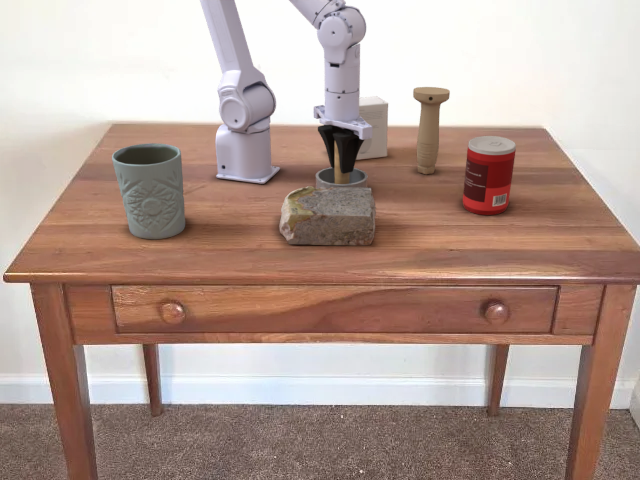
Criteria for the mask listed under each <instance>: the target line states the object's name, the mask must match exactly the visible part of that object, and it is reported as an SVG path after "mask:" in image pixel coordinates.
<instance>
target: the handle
mask: <svg viewBox="0 0 640 480" xmlns="http://www.w3.org/2000/svg"><path fill="white" fill-rule="evenodd" d="M450 94H451V91H450V90H449V89H448V88H444V87H439V86H438V87H437V86H418V87H414V88H413V91H412V97H413V99H414V100H416V101H417V102H418V103H420V116H419V123H418V131H417V140H416V141H417V142H416V161H417V172H418V173H419V174H423V175H428V174H429V175H430V174H431V175H432V174H434V173H435V170H436V164H437V161H438V155H439V147H440V113H441V112H440V109H441V104H443V103H445V102H447V101H448V100H450Z"/></svg>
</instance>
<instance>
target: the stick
mask: <svg viewBox="0 0 640 480" xmlns="http://www.w3.org/2000/svg"><path fill="white" fill-rule="evenodd" d="M334 153H335V184H349V178H350V172H349V173H345V174H343V173H341V170H340V163H339V153H338V148H337V144H336V141H335V140H334Z"/></svg>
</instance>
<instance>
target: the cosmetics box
mask: <svg viewBox="0 0 640 480" xmlns="http://www.w3.org/2000/svg"><path fill="white" fill-rule="evenodd" d="M359 115H360V116H361V117H362V118H363V119H364V120H365V121H366V122H367V123H368V124H369V125H371V126H373V129H372V138H369V139H365V140H364V142H363V143H362V145H361V147H360V149H359V152H358V155H357V158H356V161H359V160H367V159H375V158H386V157H388V128H389V127H388V125H389V123H388V121H389V102H387V101H385V100H384V99H383V98H381V97H379V96H377V95H372V96H363V97H361V96H360V97H359Z"/></svg>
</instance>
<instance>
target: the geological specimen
mask: <svg viewBox="0 0 640 480" xmlns="http://www.w3.org/2000/svg"><path fill="white" fill-rule="evenodd" d="M375 200H376V199H375V197H374V196H373V189H372V187H367V188H337V187H331V188H330V189H327V188H324V187H320V188H319V189H316V187H314V186H313V185H308V186H305V187H299V188H297V189H295V190H292V191H291V192H289V193H288V194H287V196H285V198H284V201H283V204H282V206H281V209H280V211H281V215H280V221H279V224H278V229H279V233H280V234H281V235H282V236H283V237H284V238H285V240H286V242H287V243H288V245H313V246H371V244H372V242H373V241H374V238H375V237H374V236H375V231H376V215H377V207H376V201H375Z"/></svg>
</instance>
